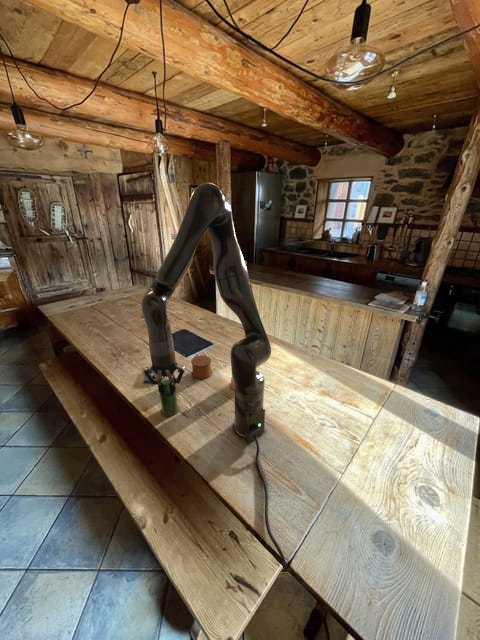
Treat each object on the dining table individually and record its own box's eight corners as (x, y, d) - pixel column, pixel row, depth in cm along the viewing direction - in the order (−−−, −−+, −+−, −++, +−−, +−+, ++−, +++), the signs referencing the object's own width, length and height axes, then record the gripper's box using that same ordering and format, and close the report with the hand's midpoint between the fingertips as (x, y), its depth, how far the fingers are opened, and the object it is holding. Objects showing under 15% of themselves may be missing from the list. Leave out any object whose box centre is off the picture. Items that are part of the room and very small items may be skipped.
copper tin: (215, 374, 115) (214, 362, 113) (197, 381, 111) (196, 368, 108) (206, 365, 122) (205, 353, 119) (189, 371, 118) (188, 359, 115)
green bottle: (180, 411, 95) (177, 383, 90) (165, 418, 92) (161, 389, 87) (174, 402, 99) (171, 375, 94) (160, 408, 96) (155, 380, 91)
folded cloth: (161, 382, 111) (161, 379, 110) (144, 382, 110) (144, 380, 110) (165, 368, 120) (165, 366, 119) (150, 369, 119) (149, 366, 119)
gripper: (136, 356, 82) (144, 400, 89) (182, 354, 82) (187, 398, 89) (142, 344, 88) (150, 386, 95) (185, 342, 89) (189, 384, 96)
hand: (167, 392), depth 92 cm, fingers closed on green bottle, 3 cm apart
